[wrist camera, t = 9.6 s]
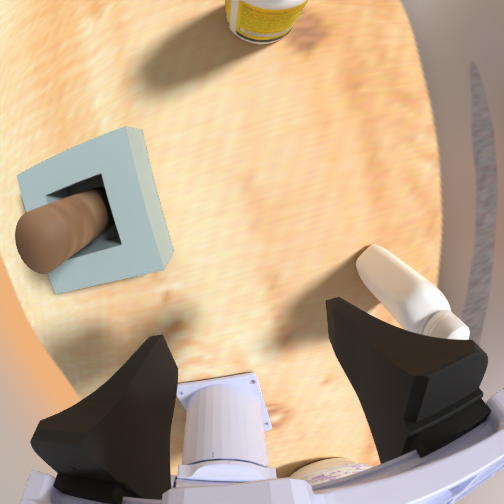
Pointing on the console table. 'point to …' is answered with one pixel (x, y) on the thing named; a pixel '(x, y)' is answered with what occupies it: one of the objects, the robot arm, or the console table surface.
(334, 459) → the paper bowls
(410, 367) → the robot arm
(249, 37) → the supplement bottle
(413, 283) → the eye dropper bottle
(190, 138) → the console table surface
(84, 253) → the socket block
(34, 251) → the pin
